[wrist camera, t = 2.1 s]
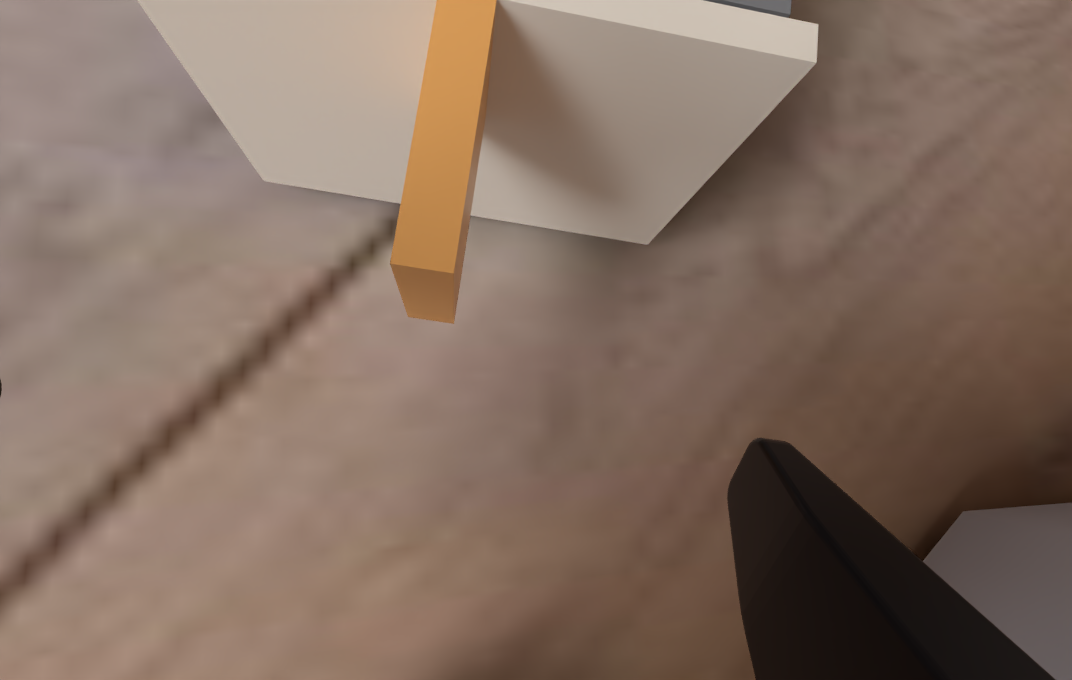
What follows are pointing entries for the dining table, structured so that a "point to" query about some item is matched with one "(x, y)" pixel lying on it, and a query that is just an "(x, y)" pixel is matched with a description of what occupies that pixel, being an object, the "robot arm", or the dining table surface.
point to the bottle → (1016, 576)
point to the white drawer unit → (489, 108)
